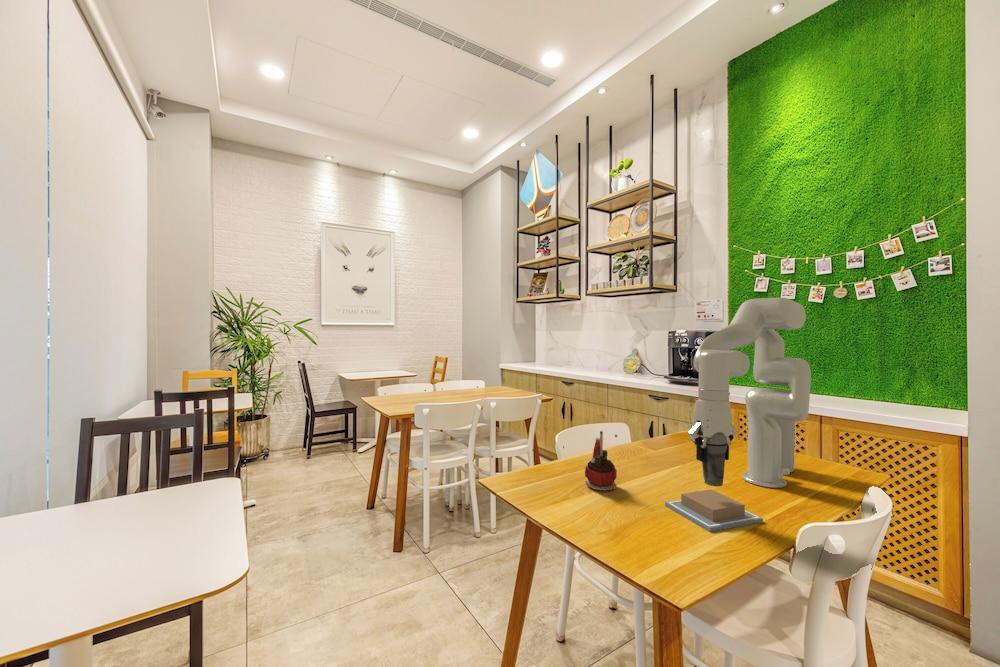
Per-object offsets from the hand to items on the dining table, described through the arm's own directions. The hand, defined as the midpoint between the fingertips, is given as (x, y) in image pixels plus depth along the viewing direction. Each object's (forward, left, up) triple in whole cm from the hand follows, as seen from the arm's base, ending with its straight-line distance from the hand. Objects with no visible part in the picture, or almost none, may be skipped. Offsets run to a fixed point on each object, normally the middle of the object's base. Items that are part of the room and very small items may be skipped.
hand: (712, 459), depth 112 cm
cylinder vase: (-53, -23, -15) cm, 60 cm away
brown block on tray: (0, 0, -15) cm, 15 cm away
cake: (+19, -26, -15) cm, 36 cm away
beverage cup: (0, 0, -7) cm, 7 cm away
